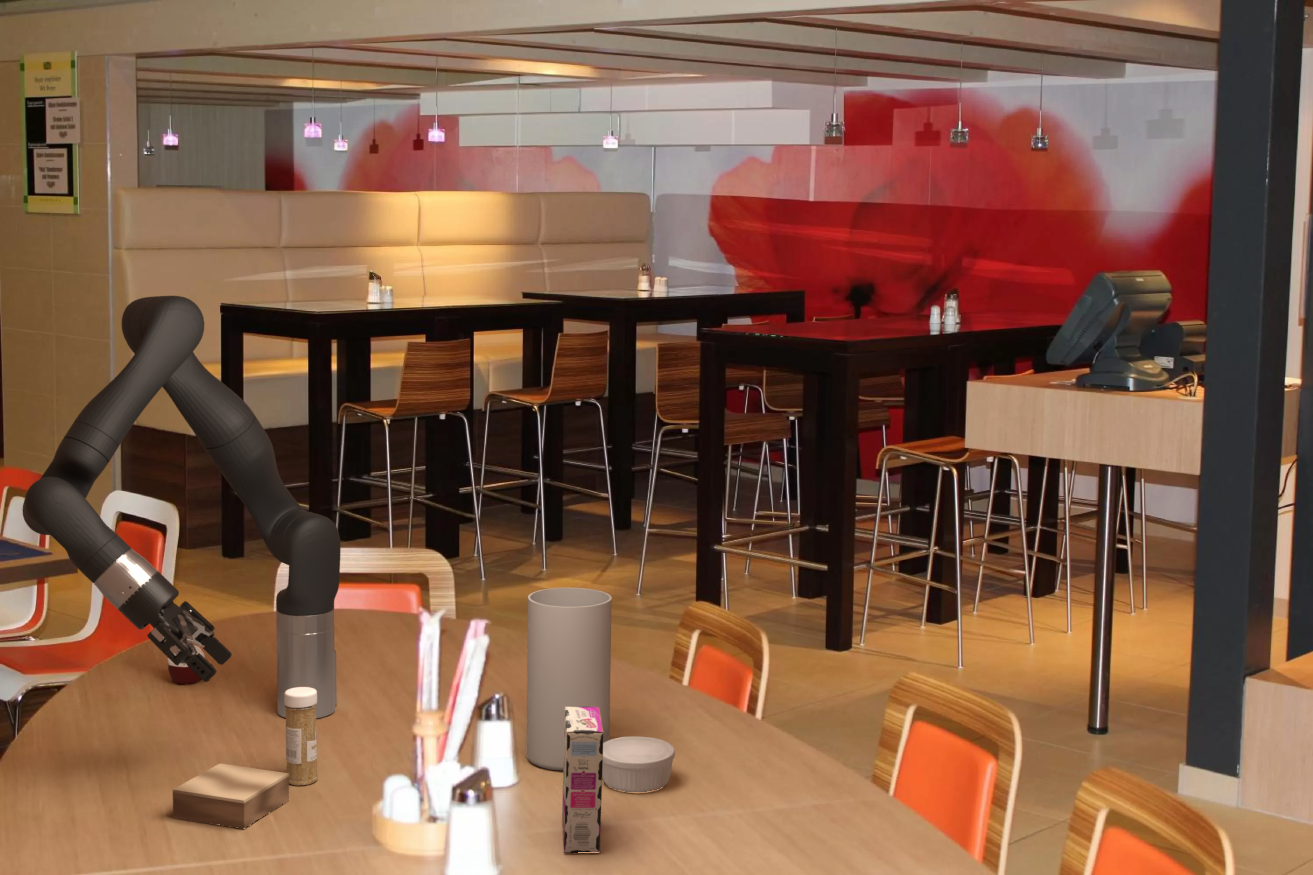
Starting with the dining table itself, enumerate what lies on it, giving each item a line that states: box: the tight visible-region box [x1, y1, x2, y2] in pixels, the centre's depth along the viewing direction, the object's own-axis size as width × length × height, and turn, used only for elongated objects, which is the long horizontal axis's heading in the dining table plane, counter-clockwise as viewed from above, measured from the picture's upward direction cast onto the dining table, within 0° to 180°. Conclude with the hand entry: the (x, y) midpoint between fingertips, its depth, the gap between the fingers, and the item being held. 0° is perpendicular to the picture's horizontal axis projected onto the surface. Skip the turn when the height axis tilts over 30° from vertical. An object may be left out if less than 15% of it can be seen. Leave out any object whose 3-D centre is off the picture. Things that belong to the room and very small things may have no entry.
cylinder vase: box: [525, 587, 613, 772], centre depth 233 cm, size 12×12×25 cm
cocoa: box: [167, 643, 214, 686], centre depth 269 cm, size 10×6×12 cm, turn 68°
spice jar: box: [284, 687, 319, 787], centre depth 222 cm, size 5×5×14 cm
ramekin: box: [602, 736, 676, 792], centre depth 225 cm, size 11×11×5 cm
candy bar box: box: [561, 707, 604, 854], centre depth 203 cm, size 11×5×16 cm, turn 5°
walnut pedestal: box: [172, 762, 290, 829], centre depth 211 cm, size 11×11×4 cm
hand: (219, 668), depth 220 cm, fingers open, 8 cm apart
